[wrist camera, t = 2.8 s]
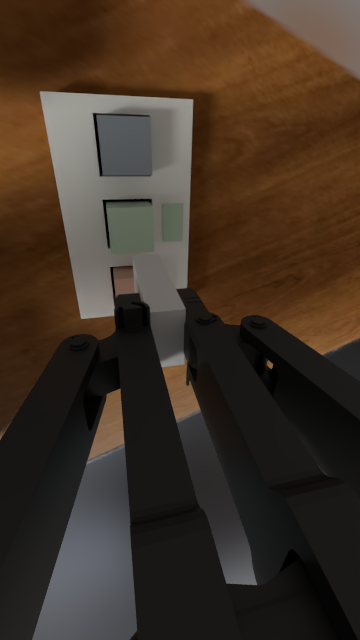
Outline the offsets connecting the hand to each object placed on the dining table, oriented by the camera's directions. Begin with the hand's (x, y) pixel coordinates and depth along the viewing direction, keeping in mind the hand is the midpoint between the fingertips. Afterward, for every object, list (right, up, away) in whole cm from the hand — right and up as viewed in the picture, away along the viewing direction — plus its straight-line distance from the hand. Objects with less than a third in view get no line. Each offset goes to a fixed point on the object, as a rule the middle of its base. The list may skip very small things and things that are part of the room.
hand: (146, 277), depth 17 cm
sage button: (-3, +7, +12) cm, 14 cm away
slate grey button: (-3, +13, +8) cm, 16 cm away
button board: (-4, +8, +14) cm, 17 cm away
